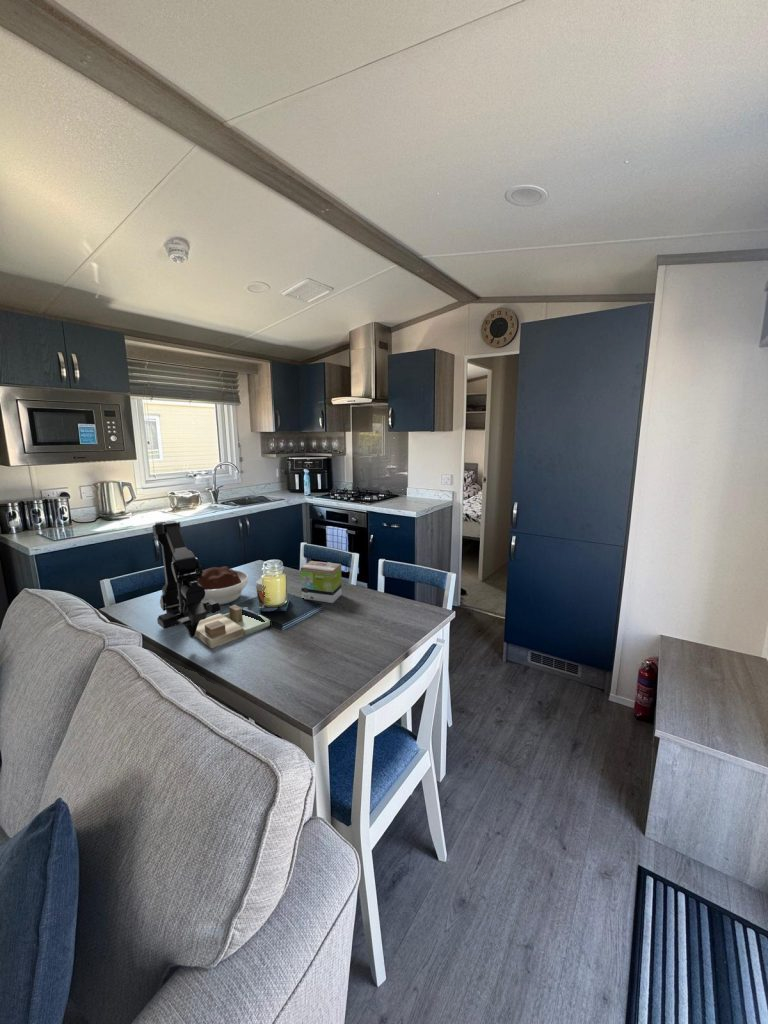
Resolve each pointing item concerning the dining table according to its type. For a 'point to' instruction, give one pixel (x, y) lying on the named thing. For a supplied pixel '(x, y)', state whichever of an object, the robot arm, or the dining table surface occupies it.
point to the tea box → (321, 581)
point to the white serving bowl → (222, 584)
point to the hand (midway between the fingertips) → (192, 636)
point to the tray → (251, 623)
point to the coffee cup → (260, 592)
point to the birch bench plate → (230, 634)
